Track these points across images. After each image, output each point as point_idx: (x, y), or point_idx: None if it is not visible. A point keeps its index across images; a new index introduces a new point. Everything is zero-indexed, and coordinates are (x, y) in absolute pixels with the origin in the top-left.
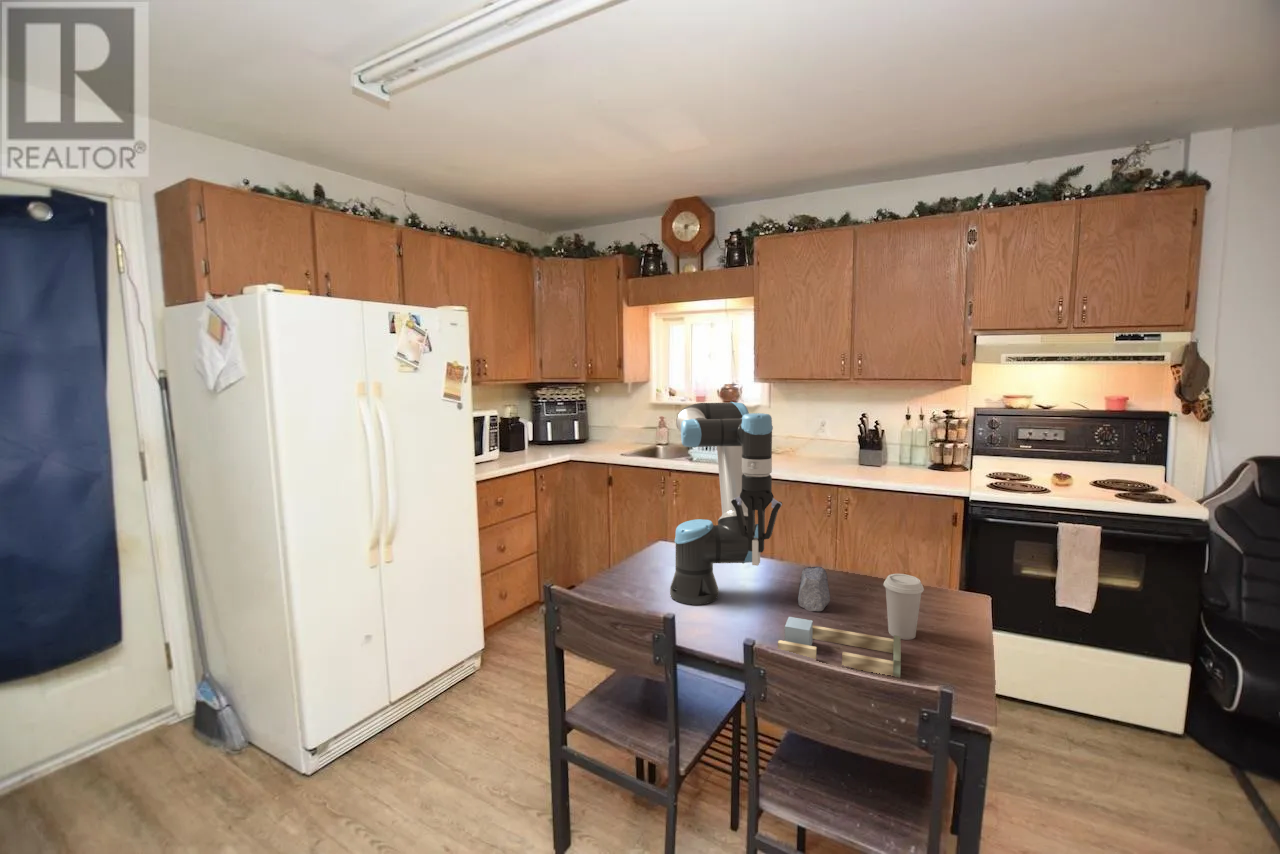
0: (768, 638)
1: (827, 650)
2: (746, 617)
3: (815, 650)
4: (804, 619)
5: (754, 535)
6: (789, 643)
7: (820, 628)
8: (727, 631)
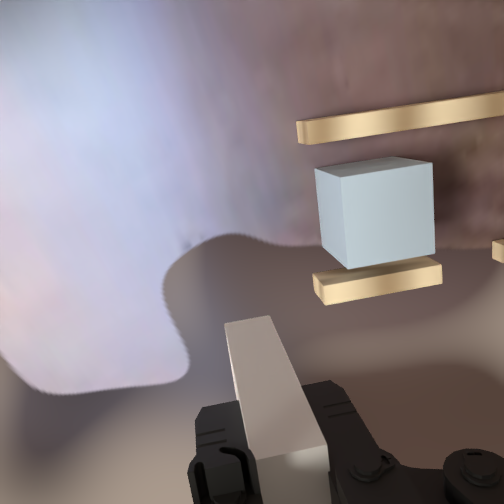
0: (254, 207)
1: (444, 183)
2: (109, 79)
3: (440, 282)
4: (401, 170)
5: (261, 499)
6: (360, 289)
7: (433, 120)
8: (104, 237)
